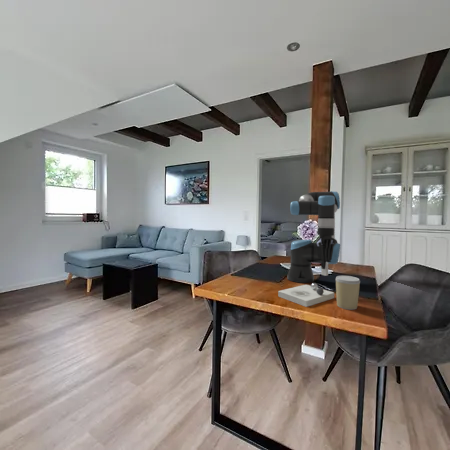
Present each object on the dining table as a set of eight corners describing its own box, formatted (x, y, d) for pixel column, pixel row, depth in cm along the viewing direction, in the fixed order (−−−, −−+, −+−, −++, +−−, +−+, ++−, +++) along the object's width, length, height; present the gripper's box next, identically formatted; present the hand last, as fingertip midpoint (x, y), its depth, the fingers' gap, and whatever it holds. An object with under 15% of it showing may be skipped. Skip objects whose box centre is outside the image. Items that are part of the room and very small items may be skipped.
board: (305, 289, 131) (305, 284, 131) (334, 298, 118) (334, 292, 118) (278, 296, 120) (278, 291, 120) (306, 306, 107) (306, 301, 107)
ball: (319, 293, 117) (319, 286, 117) (324, 294, 115) (325, 288, 114) (315, 294, 115) (315, 287, 115) (320, 296, 113) (320, 289, 113)
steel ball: (313, 288, 124) (313, 281, 124) (319, 290, 122) (319, 283, 122) (309, 289, 123) (309, 282, 122) (314, 291, 120) (315, 284, 120)
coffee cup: (351, 302, 113) (352, 275, 112) (364, 310, 103) (365, 281, 103) (331, 302, 112) (331, 275, 112) (341, 310, 103) (342, 281, 102)
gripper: (326, 226, 132) (325, 272, 133) (310, 227, 124) (309, 275, 125) (340, 227, 126) (339, 274, 127) (324, 228, 118) (323, 278, 119)
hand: (324, 275), depth 126 cm, fingers closed
